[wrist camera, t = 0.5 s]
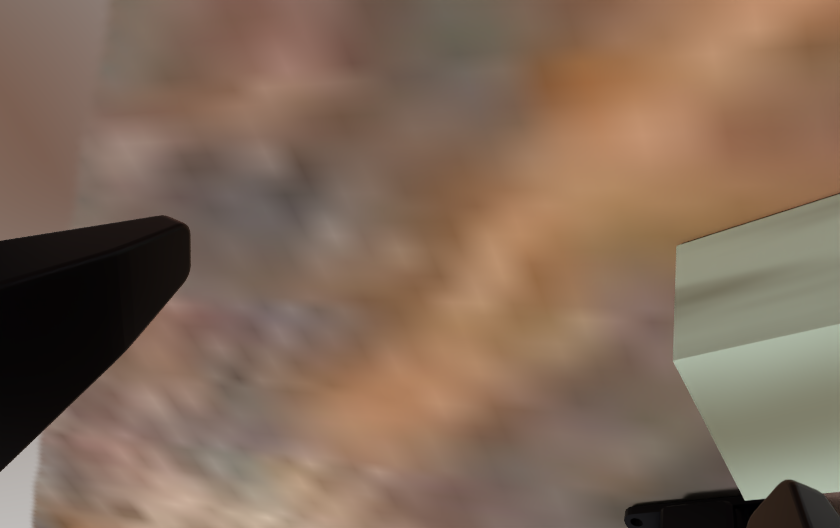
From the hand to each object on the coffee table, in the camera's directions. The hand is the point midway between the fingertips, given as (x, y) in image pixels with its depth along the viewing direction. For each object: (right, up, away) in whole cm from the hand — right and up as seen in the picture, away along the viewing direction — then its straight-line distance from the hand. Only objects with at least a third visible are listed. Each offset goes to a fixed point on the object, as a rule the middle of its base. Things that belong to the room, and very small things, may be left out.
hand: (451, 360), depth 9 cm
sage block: (+11, +1, +11) cm, 16 cm away
